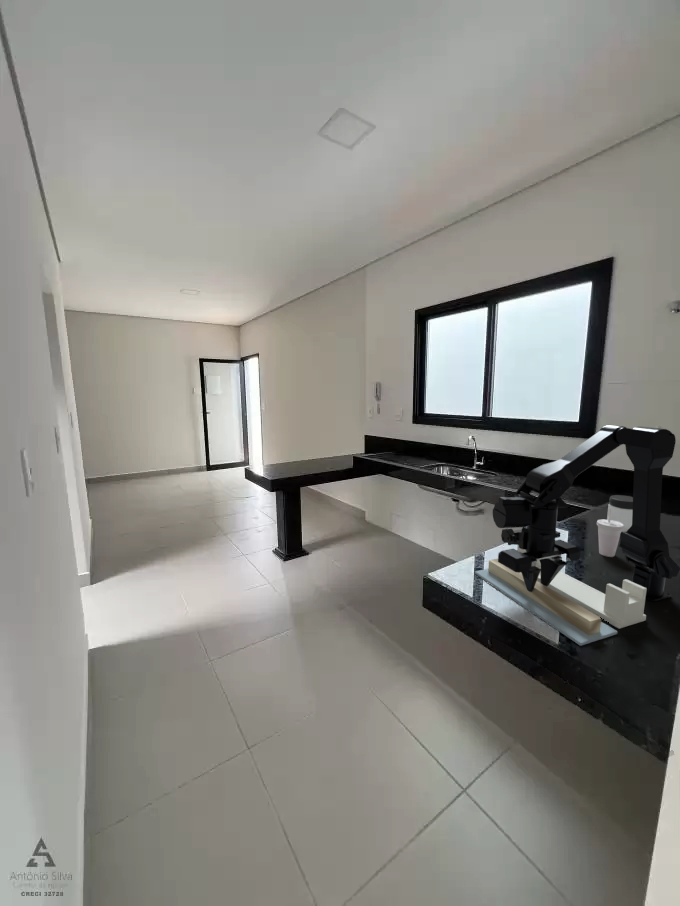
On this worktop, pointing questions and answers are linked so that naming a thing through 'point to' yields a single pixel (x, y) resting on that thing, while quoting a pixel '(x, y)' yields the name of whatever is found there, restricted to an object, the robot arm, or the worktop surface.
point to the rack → (602, 598)
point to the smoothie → (609, 535)
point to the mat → (546, 612)
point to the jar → (621, 510)
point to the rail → (549, 599)
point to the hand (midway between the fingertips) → (536, 589)
